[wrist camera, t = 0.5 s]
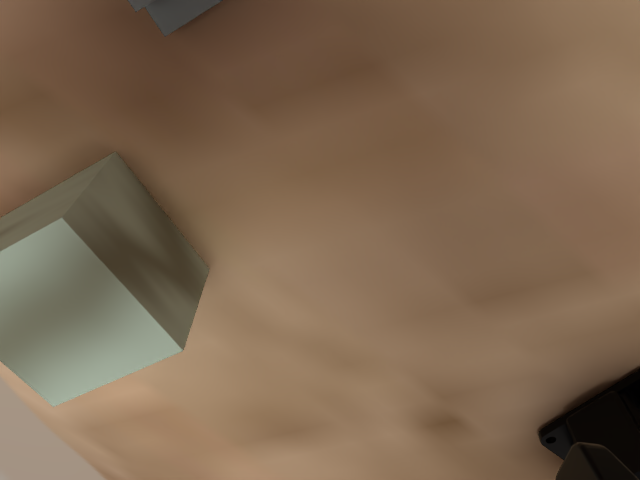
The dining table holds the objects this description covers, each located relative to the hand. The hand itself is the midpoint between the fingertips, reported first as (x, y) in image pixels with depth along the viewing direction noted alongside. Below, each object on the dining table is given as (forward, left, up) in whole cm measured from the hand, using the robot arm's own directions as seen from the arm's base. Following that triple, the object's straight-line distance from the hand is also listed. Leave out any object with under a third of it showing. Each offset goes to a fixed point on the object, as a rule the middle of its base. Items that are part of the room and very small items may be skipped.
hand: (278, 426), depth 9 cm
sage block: (+3, +9, -14) cm, 17 cm away
